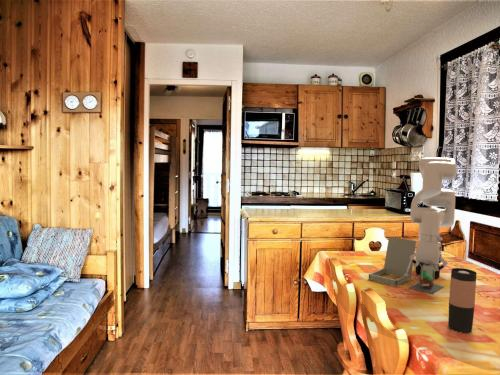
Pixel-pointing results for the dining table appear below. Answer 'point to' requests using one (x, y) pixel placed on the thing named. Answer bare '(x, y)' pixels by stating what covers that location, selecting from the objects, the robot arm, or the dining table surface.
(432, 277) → the food container
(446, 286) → the dining table surface
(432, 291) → the mat
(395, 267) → the case
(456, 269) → the travel mug
